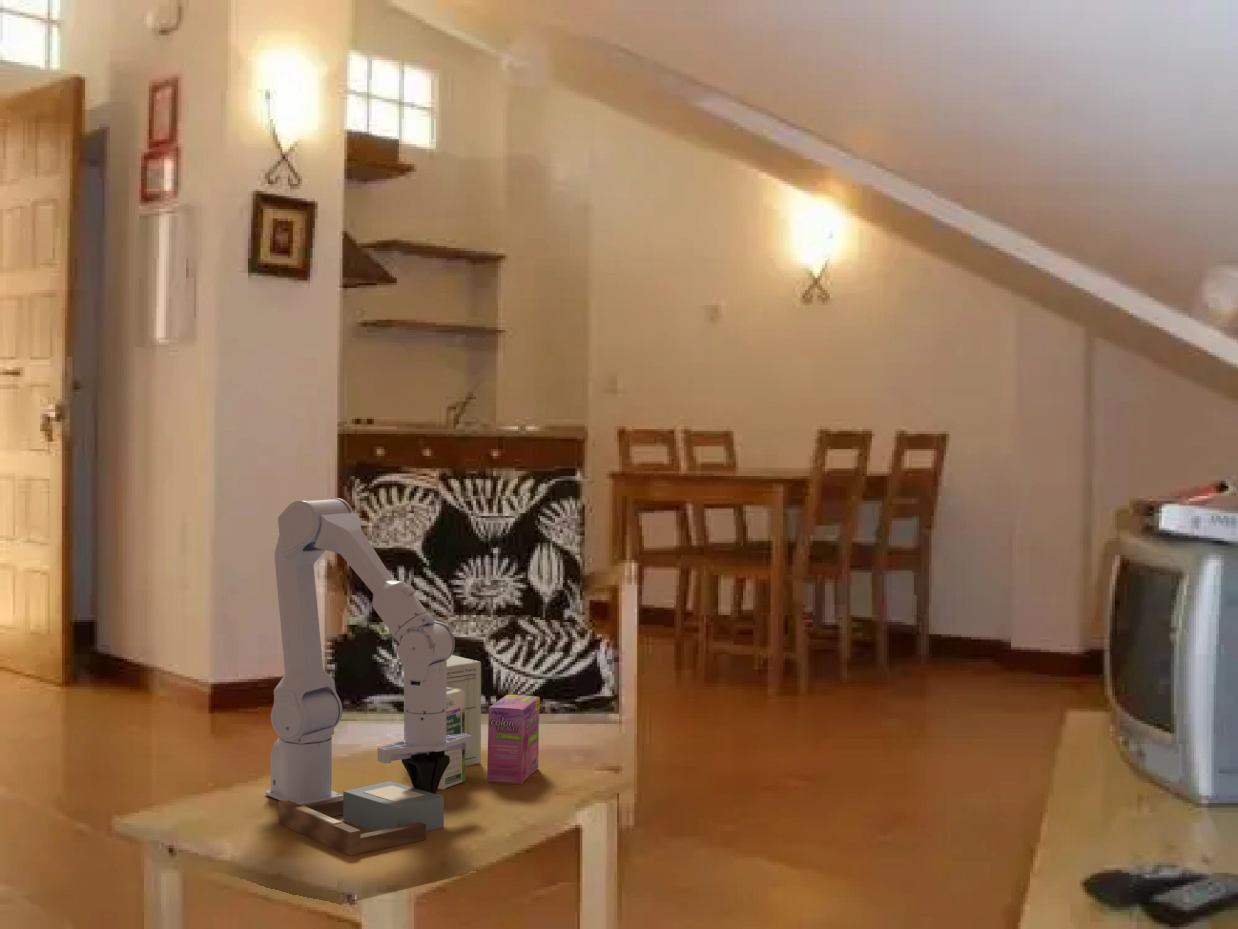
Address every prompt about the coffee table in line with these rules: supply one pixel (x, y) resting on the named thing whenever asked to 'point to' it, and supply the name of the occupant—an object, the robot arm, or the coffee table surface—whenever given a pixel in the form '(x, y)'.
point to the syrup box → (453, 726)
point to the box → (513, 739)
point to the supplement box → (468, 679)
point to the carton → (392, 807)
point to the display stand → (343, 828)
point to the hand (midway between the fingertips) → (425, 806)
